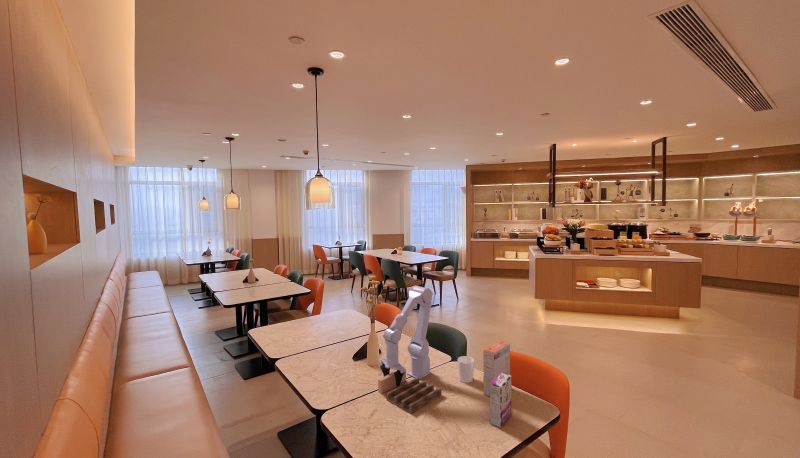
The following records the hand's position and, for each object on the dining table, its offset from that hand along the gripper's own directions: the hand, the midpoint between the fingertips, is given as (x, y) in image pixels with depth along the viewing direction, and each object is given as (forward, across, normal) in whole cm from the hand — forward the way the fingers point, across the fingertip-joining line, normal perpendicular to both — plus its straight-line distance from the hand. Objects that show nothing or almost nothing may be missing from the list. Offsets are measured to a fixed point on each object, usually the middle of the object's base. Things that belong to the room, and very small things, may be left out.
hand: (392, 382), depth 165 cm
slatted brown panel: (+2, +14, 0) cm, 14 cm away
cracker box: (+2, +37, +30) cm, 48 cm away
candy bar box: (+2, +49, +12) cm, 50 cm away
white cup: (+2, +21, +29) cm, 36 cm away
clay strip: (+2, 0, 0) cm, 2 cm away
